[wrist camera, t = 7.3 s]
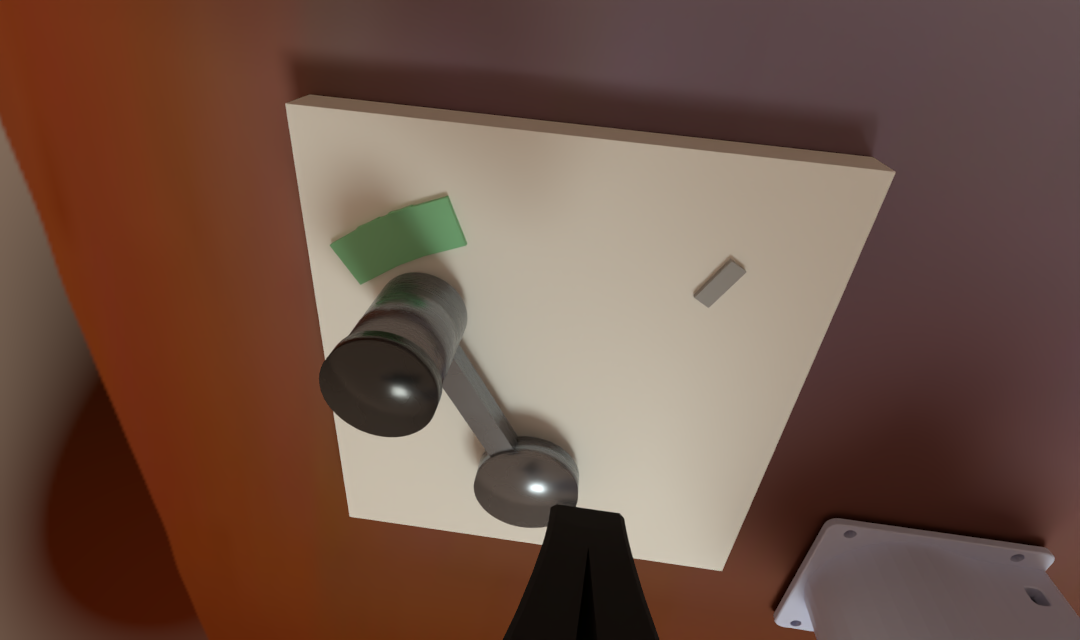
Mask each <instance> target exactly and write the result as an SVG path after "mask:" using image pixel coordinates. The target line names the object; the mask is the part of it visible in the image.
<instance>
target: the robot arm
mask: <svg viewBox="0 0 1080 640" xmlns="http://www.w3.org/2000/svg"><path fill="white" fill-rule="evenodd" d="M1054 560H1055V558H1054V556H1053V554H1052V553H1051V552H1050V551H1049V550H1048V549H1047V548H1044V547H1039V546H1032V545H1025V544H1018V543H1011V542H1004V541H997V540H990V539H983V538H976V537H968V536H961V535H954V534H947V533H940V532H933V531H926V530H919V529H912V528H905V527H898V526H890V525H883V524H876V523H869V522H862V521H855V520H848V519H841V518H833V519H830V520H828V521H826V522H825V523H824V525H823V526H822V528H821V530H820V532H819V534H818V535H817V537H816V539H815V541H814V543H813V544H812V546H811V548H810V550H809V551H808V553H807V555H806V557H805V559H804V560H803V562H802V564H801V566H800V568H799V569H798V571H797V573H796V575H795V577H794V578H793V580H792V582H791V584H790V585H789V587H788V589H787V591H786V593H785V594H784V596H783V598H782V600H781V602H780V603H779V605H778V607H777V609H776V610H775V612H774V615H773V616H774V620H775V623H776V624H777V625H779V626H782V627H788V628H795V629H801V630H808V631H814V632H815V635H816V638H817V640H1080V618H1079V617H1078V615H1077V614H1076V612H1075V611H1074V610H1073V608H1072V607H1071V606H1070V604H1069V603H1068V602H1067V600H1066V599H1065V598H1064V596H1063V595H1062V594H1061V592H1060V591H1059V590H1058V588H1057V587H1056V586H1055V584H1054V583H1053V582H1052V580H1051V579H1050V578H1049V576H1048V575H1047V574H1046V572H1045V571H1046V569H1047V568H1048V567H1049V566H1050V565H1051V564H1052V563H1053V562H1054ZM503 640H659V637H658V634H657V631H656V628H655V626H654V623H653V620H652V617H651V614H650V611H649V609H648V606H647V603H646V600H645V597H644V594H643V591H642V587H641V584H640V581H639V577H638V574H637V571H636V567H635V564H634V560H633V556H632V552H631V548H630V544H629V540H628V535H627V531H626V526H625V520H624V517H623V516H622V515H621V514H620V513H614V512H608V511H601V510H594V509H587V508H580V507H573V506H566V505H559V504H556V505H554V506H552V507H551V508H550V515H549V521H548V525H547V529H546V533H545V537H544V540H543V544H542V547H541V550H540V553H539V556H538V559H537V561H536V564H535V567H534V570H533V573H532V575H531V577H530V580H529V582H528V585H527V587H526V589H525V592H524V594H523V597H522V599H521V602H520V604H519V606H518V609H517V611H516V613H515V615H514V618H513V620H512V622H511V624H510V626H509V628H508V630H507V632H506V634H505V636H504V638H503Z"/></svg>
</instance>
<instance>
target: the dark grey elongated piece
mask: <svg viewBox="0 0 1080 640" xmlns="http://www.w3.org/2000/svg"><path fill="white" fill-rule="evenodd" d="M466 325H467V310H466V306H465V304H464V302H463V300H462V298H461V296H460V295H459V293H458V292H457V291H456V290H455V289H454V288H453V287H452V286H451V285H450V284H448V283H447V282H445V281H444V280H442V279H440V278H438V277H436V276H434V275H430V274H427V273H421V272H410V273H405V274H401V275H398V276H396V277H394V278H393V279H391V280H390V281H389V282H388V283H387V284H386V285H385V286H384V288H383V289H382V291H381V292H380V293H379V295H378V296H377V297H376V299H375V300H374V301H373V303H372V304H371V305H370V307H369V308H368V310H367V311H366V312H365V314H364V315H363V316H362V318H361V319H360V320H359V322H358V323H357V324H356V326H355V327H354V328H353V330H352V331H351V333H350V334H349V335H348V336H347V337H345V338H344V339H343V340H341V341H340V342H339V343H338V344H337V345H336V346H335V348H334V349H333V350H332V352H331V353H330V354H329V356H328V357H327V358H326V360H325V361H324V363H323V365H322V367H321V370H320V375H319V383H320V388H321V392H322V394H323V397H324V399H325V400H326V402H327V404H328V405H329V407H330V408H331V409H332V410H333V411H334V412H335V414H336V415H338V416H339V417H340V418H341V419H342V420H343V421H345V422H346V423H348V424H349V425H351V426H353V427H354V428H356V429H358V430H360V431H363V432H366V433H368V434H372V435H376V436H381V437H403V436H407V435H411V434H414V433H416V432H418V431H420V430H421V429H423V428H424V427H425V426H427V424H428V423H429V422H430V421H431V419H432V418H433V416H434V414H435V411H436V409H437V406H438V404H439V401H440V399H441V395H442V388H443V389H444V391H445V392H446V393H447V395H448V396H449V398H450V399H451V401H452V402H453V404H454V405H455V406H456V408H457V409H458V411H459V412H460V414H461V415H462V417H463V418H464V420H465V421H466V422H467V424H468V425H469V427H470V428H471V430H472V431H473V433H474V434H475V436H476V437H477V438H478V440H479V441H480V443H481V444H482V446H483V447H484V449H485V450H486V451H485V452H484V453H483V455H482V457H481V459H480V462H479V466H478V470H477V473H476V477H475V481H474V493H475V496H476V499H477V501H478V502H479V504H480V505H481V506H482V508H483V509H484V510H485V511H486V512H487V513H489V514H490V515H491V516H493V517H495V518H496V519H498V520H500V521H502V522H504V523H507V524H510V525H514V526H518V527H524V528H542V527H547V525H548V521H549V515H550V508H551V507H552V506H554V505H556V504H559V505H566V506H573V507H576V505H577V501H578V487H579V471H578V467H577V465H576V463H575V461H574V460H573V458H572V457H571V456H570V455H569V454H568V453H567V452H566V451H565V450H564V449H563V448H561V447H560V446H558V445H556V444H554V443H552V442H550V441H547V440H544V439H541V438H536V437H529V436H517V434H516V432H515V431H514V429H513V428H512V426H511V425H510V423H509V422H508V420H507V418H506V417H505V415H504V414H503V412H502V411H501V409H500V407H499V406H498V404H497V403H496V401H495V400H494V398H493V397H492V395H491V393H490V392H489V390H488V389H487V387H486V386H485V384H484V383H483V381H482V379H481V378H480V376H479V375H478V373H477V372H476V370H475V368H474V367H473V365H472V364H471V362H470V361H469V359H468V358H467V356H466V354H465V353H464V351H463V350H462V348H461V347H460V345H459V343H460V341H461V339H462V336H463V334H464V331H465V329H466Z"/></svg>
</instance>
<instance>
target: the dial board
mask: <svg viewBox="0 0 1080 640" xmlns="http://www.w3.org/2000/svg"><path fill="white" fill-rule="evenodd" d="M285 105H286V111H287V118H288V124H289V131H290V137H291V143H292V150H293V156H294V163H295V169H296V176H297V182H298V188H299V195H300V201H301V208H302V214H303V220H304V227H305V233H306V240H307V246H308V252H309V259H310V265H311V272H312V278H313V284H314V291H315V297H316V304H317V310H318V316H319V323H320V329H321V336H322V342H323V349H324V355H325V360H326V358H327V357H328V356H329V354H330V353H331V352H332V350H333V349H334V348H335V346H336V345H337V344H338V343H339V342H340V341H341V340H343V339H344V338H345V337H347V336H348V335H349V334H350V333H351V331H352V330H353V328H354V327H355V326H356V324H357V323H358V322H359V320H360V319H361V318H362V316H363V315H364V314H365V312H366V311H367V310H368V308H369V307H370V305H371V304H372V303H373V301H374V300H375V299H376V297H377V296H378V295H379V293H380V292H381V291H382V289H383V288H384V286H385V285H386V284H387V283H388V282H389V281H390V280H391V279H393V278H394V277H396V276H398V275H401V274H405V273H410V272H421V273H427V274H430V275H434V276H436V277H438V278H440V279H442V280H444V281H445V282H447V283H448V284H450V285H451V286H452V287H453V288H454V289H455V290H456V291H457V292H458V293H459V295H460V296H461V298H462V300H463V302H464V304H465V306H466V310H467V325H466V329H465V331H464V334H463V336H462V339H461V341H460V343H459V345H460V347H461V348H462V350H463V351H464V353H465V354H466V356H467V358H468V359H469V361H470V362H471V364H472V365H473V367H474V368H475V370H476V372H477V373H478V375H479V376H480V378H481V379H482V381H483V383H484V384H485V386H486V387H487V389H488V390H489V392H490V393H491V395H492V397H493V398H494V400H495V401H496V403H497V404H498V406H499V407H500V409H501V411H502V412H503V414H504V415H505V417H506V418H507V420H508V422H509V423H510V425H511V426H512V428H513V429H514V431H515V432H516V434H517V436H529V437H536V438H541V439H544V440H547V441H550V442H552V443H554V444H556V445H558V446H560V447H561V448H563V449H564V450H565V451H566V452H567V453H568V454H569V455H570V456H571V457H572V458H573V460H574V461H575V463H576V465H577V467H578V471H579V487H578V501H577V505H576V507H580V508H587V509H594V510H601V511H608V512H614V513H620V514H621V515H622V516H623V517H624V520H625V526H626V531H627V535H628V540H629V544H630V548H631V552H632V556H633V558H636V559H643V560H650V561H657V562H663V563H670V564H677V565H684V566H691V567H698V568H704V569H711V570H718V571H722V570H723V567H724V565H725V563H726V560H727V558H728V556H729V554H730V551H731V549H732V547H733V544H734V542H735V540H736V538H737V535H738V533H739V531H740V528H741V526H742V524H743V521H744V519H745V517H746V515H747V512H748V510H749V508H750V505H751V503H752V501H753V499H754V496H755V494H756V492H757V489H758V487H759V485H760V482H761V480H762V478H763V476H764V473H765V471H766V469H767V466H768V464H769V462H770V460H771V457H772V455H773V453H774V450H775V448H776V446H777V443H778V441H779V439H780V437H781V434H782V432H783V430H784V427H785V425H786V423H787V421H788V418H789V416H790V414H791V411H792V409H793V407H794V405H795V402H796V400H797V398H798V395H799V393H800V391H801V388H802V386H803V384H804V382H805V379H806V377H807V375H808V372H809V370H810V368H811V366H812V363H813V361H814V359H815V356H816V354H817V352H818V349H819V347H820V345H821V343H822V340H823V338H824V336H825V333H826V331H827V329H828V327H829V324H830V322H831V320H832V317H833V315H834V313H835V311H836V308H837V306H838V304H839V301H840V299H841V297H842V294H843V292H844V290H845V288H846V285H847V283H848V281H849V278H850V276H851V274H852V272H853V269H854V267H855V265H856V262H857V260H858V258H859V255H860V253H861V251H862V249H863V246H864V244H865V242H866V239H867V237H868V235H869V233H870V230H871V228H872V226H873V223H874V221H875V219H876V217H877V214H878V212H879V210H880V207H881V205H882V203H883V200H884V198H885V196H886V194H887V191H888V189H889V187H890V184H891V182H892V180H893V178H894V175H895V173H896V172H895V171H894V170H892V169H891V168H889V167H887V166H886V165H884V164H883V163H881V162H880V161H878V160H877V159H875V158H874V157H868V156H859V155H850V154H841V153H832V152H823V151H814V150H805V149H796V148H787V147H778V146H769V145H760V144H751V143H742V142H733V141H724V140H715V139H706V138H697V137H688V136H679V135H670V134H661V133H652V132H643V131H634V130H625V129H616V128H607V127H598V126H589V125H580V124H571V123H562V122H553V121H544V120H535V119H526V118H517V117H508V116H499V115H490V114H481V113H472V112H463V111H454V110H445V109H436V108H427V107H418V106H409V105H400V104H391V103H382V102H373V101H364V100H355V99H346V98H337V97H328V96H319V95H310V94H309V95H307V96H304V97H301V98H299V99H296V100H293V101H291V102H288V103H285ZM333 413H334V419H335V425H336V432H337V438H338V445H339V451H340V457H341V464H342V470H343V477H344V483H345V489H346V496H347V502H348V509H349V515H350V517H356V518H363V519H370V520H377V521H384V522H391V523H397V524H404V525H411V526H418V527H425V528H431V529H438V530H445V531H452V532H459V533H466V534H472V535H479V536H486V537H493V538H500V539H507V540H513V541H520V542H527V543H534V544H541V545H542V544H543V540H544V537H545V533H546V529H547V527H542V528H524V527H518V526H514V525H510V524H507V523H504V522H502V521H500V520H498V519H496V518H495V517H493V516H491V515H490V514H489V513H487V512H486V511H485V510H484V509H483V508H482V506H481V505H480V504H479V502H478V501H477V499H476V496H475V493H474V481H475V477H476V473H477V470H478V466H479V462H480V459H481V457H482V455H483V453H484V452H485V451H486V450H485V449H484V447H483V446H482V444H481V443H480V441H479V440H478V438H477V437H476V436H475V434H474V433H473V431H472V430H471V428H470V427H469V425H468V424H467V422H466V421H465V420H464V418H463V417H462V415H461V414H460V412H459V411H458V409H457V408H456V406H455V405H454V404H453V402H452V401H451V399H450V398H449V396H448V395H447V393H446V392H445V391H444V389H443V388H442V395H441V399H440V401H439V404H438V406H437V409H436V411H435V414H434V416H433V418H432V419H431V421H430V422H429V423H428V424H427V426H425V427H424V428H423V429H421V430H420V431H418V432H416V433H414V434H411V435H407V436H403V437H381V436H376V435H372V434H368V433H366V432H363V431H360V430H358V429H356V428H354V427H353V426H351V425H349V424H348V423H346V422H345V421H343V420H342V419H341V418H340V417H339V416H338V415H336V414H335V412H334V411H333Z"/></svg>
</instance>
